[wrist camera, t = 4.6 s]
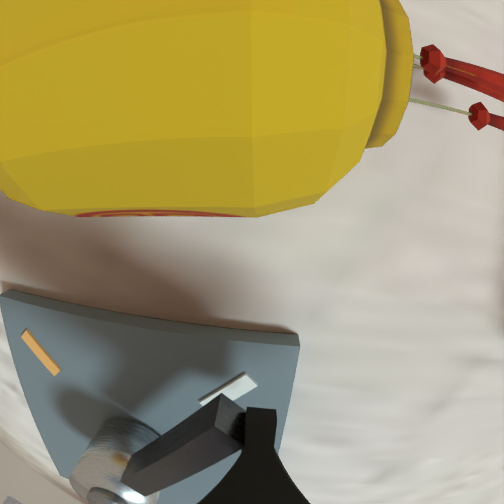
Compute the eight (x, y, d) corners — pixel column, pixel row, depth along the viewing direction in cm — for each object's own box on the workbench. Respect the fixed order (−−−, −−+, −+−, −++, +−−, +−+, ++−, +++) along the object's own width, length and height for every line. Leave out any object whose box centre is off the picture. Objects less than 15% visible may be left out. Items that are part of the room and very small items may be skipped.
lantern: (619, 13, 1) (-137, 69, 2) (596, 283, 6) (-117, 256, 7) (481, 24, 10) (-19, 52, 11) (471, 190, 15) (-10, 188, 16)
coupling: (145, 476, 17) (124, 532, 12) (87, 435, 17) (54, 488, 12) (277, 395, 15) (278, 477, 10) (200, 333, 14) (170, 408, 9)
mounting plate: (261, 511, 20) (260, 524, 18) (65, 467, 20) (59, 476, 19) (297, 334, 16) (300, 348, 14) (9, 289, 16) (-4, 296, 15)
